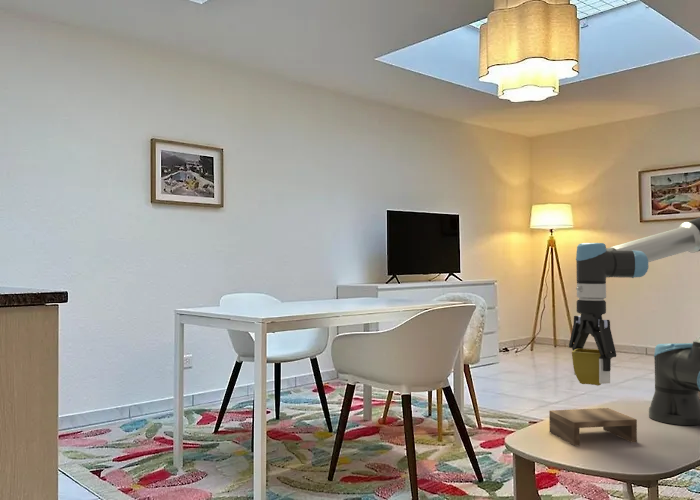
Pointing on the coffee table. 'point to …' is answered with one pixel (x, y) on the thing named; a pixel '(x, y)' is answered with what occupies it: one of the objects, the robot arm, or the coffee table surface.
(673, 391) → the robot arm
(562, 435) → the walnut shelf
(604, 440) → the coffee table surface
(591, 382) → the flower pot
